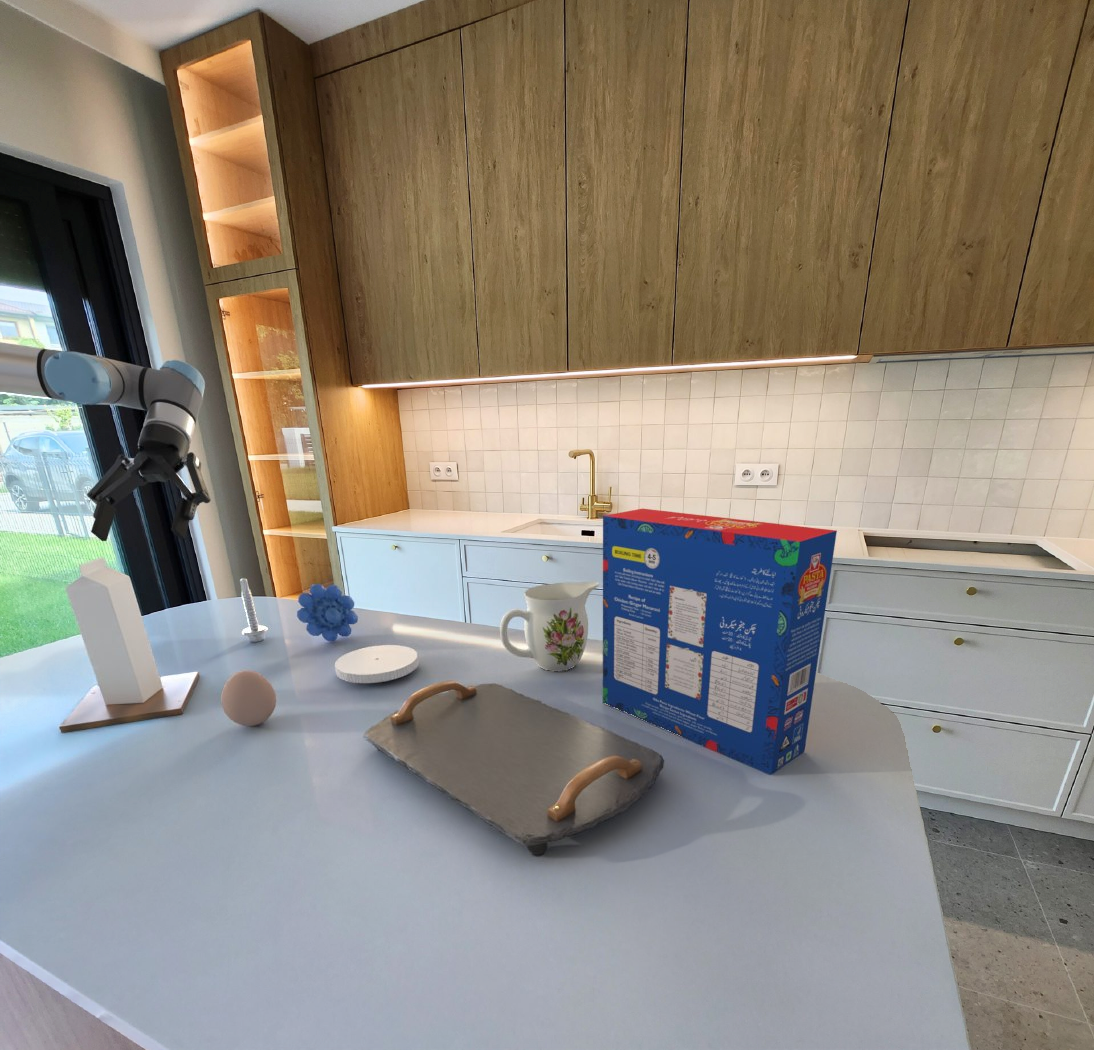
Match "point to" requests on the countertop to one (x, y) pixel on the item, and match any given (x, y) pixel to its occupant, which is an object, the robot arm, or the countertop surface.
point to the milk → (114, 634)
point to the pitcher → (552, 624)
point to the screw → (251, 615)
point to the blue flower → (327, 612)
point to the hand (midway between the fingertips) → (138, 535)
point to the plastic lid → (376, 664)
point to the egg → (248, 698)
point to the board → (132, 705)
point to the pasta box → (715, 628)
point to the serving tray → (516, 760)
